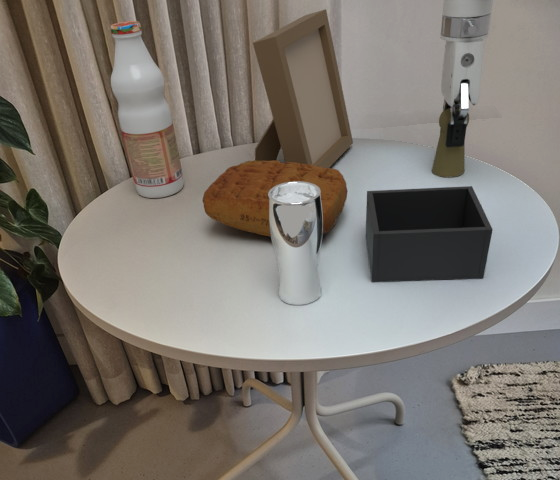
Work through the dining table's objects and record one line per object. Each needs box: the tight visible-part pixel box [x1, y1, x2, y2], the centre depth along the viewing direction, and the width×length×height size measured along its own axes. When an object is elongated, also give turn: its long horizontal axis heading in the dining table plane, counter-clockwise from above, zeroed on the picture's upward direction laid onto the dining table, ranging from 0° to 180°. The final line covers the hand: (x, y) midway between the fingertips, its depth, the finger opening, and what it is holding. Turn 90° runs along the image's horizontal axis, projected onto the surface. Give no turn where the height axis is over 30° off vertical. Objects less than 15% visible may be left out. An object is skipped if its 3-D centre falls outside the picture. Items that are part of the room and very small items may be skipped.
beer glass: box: [268, 181, 324, 306], centre depth 76 cm, size 7×7×15 cm
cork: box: [431, 108, 470, 178], centre depth 105 cm, size 6×6×11 cm
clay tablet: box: [202, 160, 348, 238], centre depth 95 cm, size 22×17×8 cm
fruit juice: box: [110, 20, 185, 199], centre depth 103 cm, size 9×9×28 cm
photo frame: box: [252, 8, 354, 168], centre depth 108 cm, size 15×22×25 cm
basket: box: [365, 185, 494, 283], centre depth 84 cm, size 16×14×8 cm
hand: (451, 139), depth 105 cm, fingers closed on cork, 5 cm apart
